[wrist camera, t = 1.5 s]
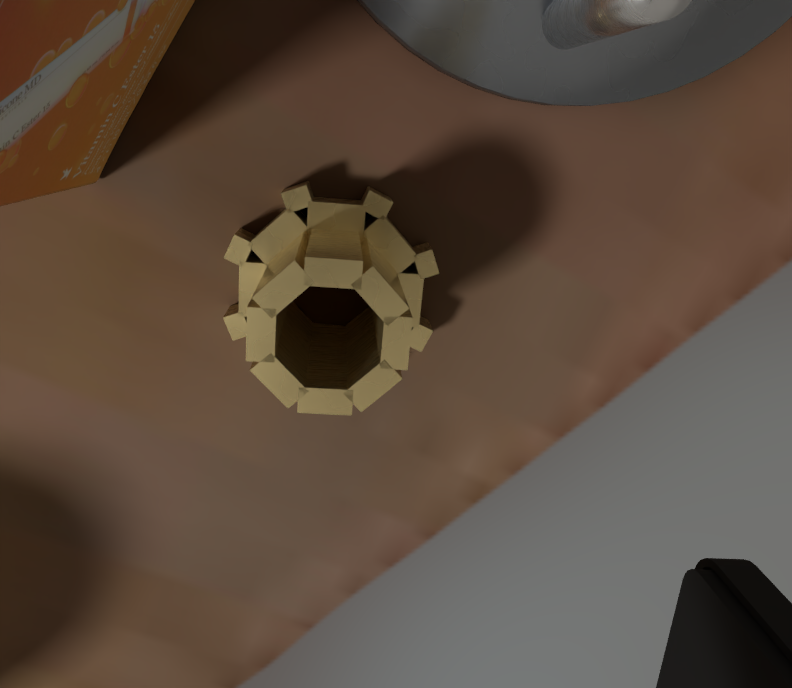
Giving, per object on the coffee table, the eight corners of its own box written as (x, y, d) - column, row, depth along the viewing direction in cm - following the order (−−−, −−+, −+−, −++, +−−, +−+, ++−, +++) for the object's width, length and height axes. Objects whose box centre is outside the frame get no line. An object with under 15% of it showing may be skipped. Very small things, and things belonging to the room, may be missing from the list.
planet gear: (231, 174, 24) (193, 194, 18) (441, 192, 25) (475, 217, 18) (228, 373, 26) (194, 452, 20) (421, 384, 27) (444, 463, 21)
